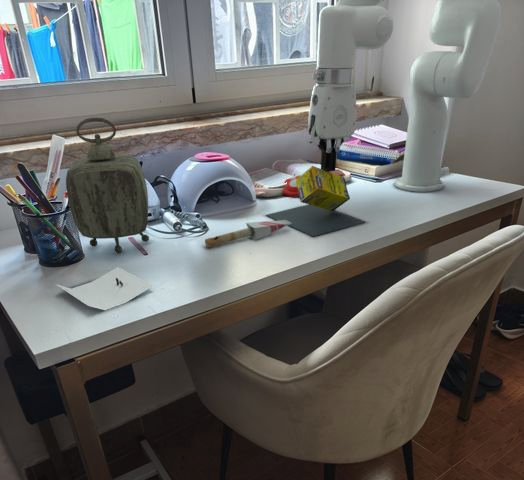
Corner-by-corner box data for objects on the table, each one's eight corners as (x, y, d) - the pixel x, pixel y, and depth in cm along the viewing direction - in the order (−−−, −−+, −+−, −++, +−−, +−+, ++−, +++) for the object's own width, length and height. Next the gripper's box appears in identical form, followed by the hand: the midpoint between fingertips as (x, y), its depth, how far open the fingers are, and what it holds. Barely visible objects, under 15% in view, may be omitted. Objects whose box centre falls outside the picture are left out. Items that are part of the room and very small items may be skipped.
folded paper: (154, 291, 86) (152, 281, 85) (90, 316, 79) (88, 305, 78) (118, 272, 94) (116, 262, 93) (57, 293, 87) (54, 283, 86)
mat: (315, 203, 125) (315, 202, 125) (365, 222, 113) (365, 221, 113) (266, 215, 119) (266, 214, 118) (313, 237, 106) (313, 236, 106)
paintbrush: (293, 217, 107) (209, 239, 100) (294, 229, 109) (211, 252, 102) (284, 212, 110) (201, 234, 103) (284, 224, 112) (203, 246, 104)
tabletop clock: (154, 238, 108) (135, 112, 94) (154, 254, 100) (133, 119, 87) (86, 244, 106) (56, 116, 92) (80, 261, 99) (47, 124, 85)
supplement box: (351, 198, 115) (318, 188, 108) (332, 212, 119) (300, 202, 112) (345, 176, 116) (312, 164, 109) (326, 190, 121) (294, 180, 114)
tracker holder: (284, 194, 129) (276, 176, 135) (287, 209, 132) (280, 190, 139) (329, 180, 128) (319, 162, 135) (331, 195, 132) (321, 177, 138)
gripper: (317, 80, 97) (312, 177, 106) (373, 77, 104) (363, 169, 113) (294, 78, 102) (291, 171, 112) (349, 76, 109) (342, 163, 119)
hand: (327, 170), depth 113 cm, fingers closed
